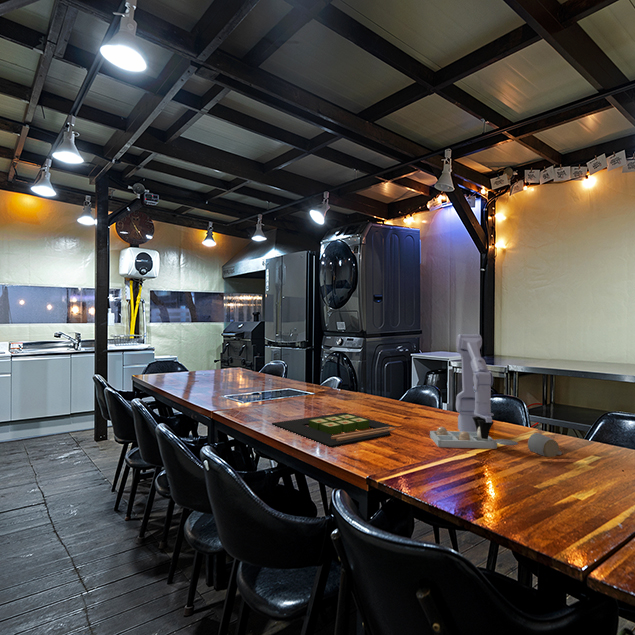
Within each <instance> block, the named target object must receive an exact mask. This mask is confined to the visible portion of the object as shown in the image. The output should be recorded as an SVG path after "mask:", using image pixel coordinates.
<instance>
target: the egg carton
mask: <svg viewBox="0 0 635 635" xmlns="http://www.w3.org/2000/svg"><path fill="white" fill-rule="evenodd" d="M460 433H461V432H460V430H458V431H454V430H453V431H452V430H451V431H449V430H447V435H437V430H429V438H430V439H431V440H432V441H433V443H435V445H436V446H437V447H438V448H457V449H458V448H459V449H460V448H461V449H462V448H463V449H465V448H466V449H493V450H494V449H498V443H497V442H496V441H495V440H496V439H493V437H491V436H489V435H488V440H479V439H477V432H468V433H469V435H470V440H459V434H460Z"/></svg>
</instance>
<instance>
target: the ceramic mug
mask: <svg viewBox="0 0 635 635" xmlns="http://www.w3.org/2000/svg"><path fill="white" fill-rule="evenodd" d="M527 447H528V448H527V449H528V450H529V451H530V452H533V453H535V454H538V455H540V456H543V457H547V458H550V457H556V456H561V455H562V453H563V451H560V446H559V444H558V441H556V440H555V439H553V438H551V437H549V436H546V435H544V434H542V433H540V432H534V433H533V434H531V435H530V436H529V438H528V440H527Z"/></svg>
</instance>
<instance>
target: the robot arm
mask: <svg viewBox="0 0 635 635" xmlns="http://www.w3.org/2000/svg"><path fill="white" fill-rule="evenodd" d="M455 344H456V352H457V353H458V354H460V357H461V358H460V359H461V360H460V361H461V383H462V384H461V385H462V388H461V389H462V391H460V392H459V393H458V394H456V398H455V399H456V400H455V409H456V412H457V413H458V416H457V430H458V431H460V432H463V431H465V432H477V429H478V427H479V426H480V432H481V438H482V439H488V436H489V435H490V431H491V429H492V426H493V425H494V421H493V416H494V415H495V414H494V413H493V412H491V404H492V403H491V402H492V401H491V399H492V398H491V396H492V394H491V393H492V392H491V390H492V389H491V387H492V386H493V384H494V375H493V373H492V371H491V370H490V369H489V368H488V366H487V363H486V360H485V359H484V358H483V357H482V355H481V351H480V350H481V348H482V347H483V338H482V336H481V334H473V333H472V334H461V333H459V334H458V335H456V343H455Z"/></svg>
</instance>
